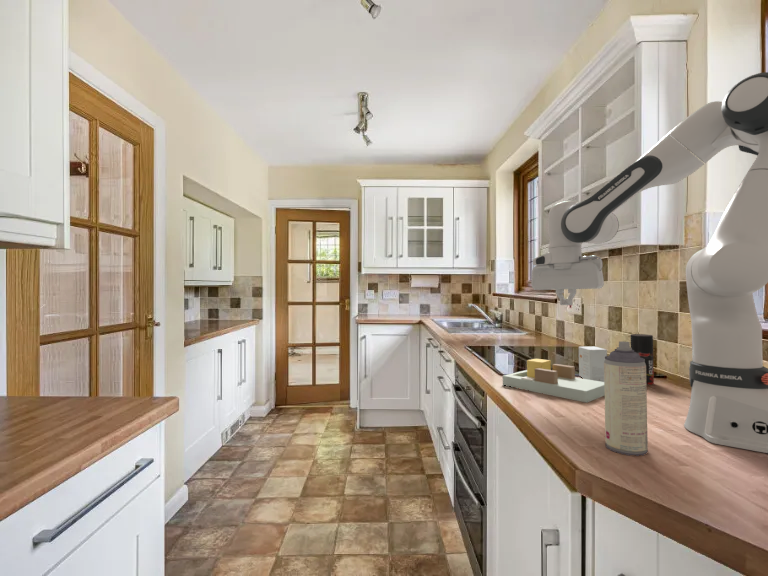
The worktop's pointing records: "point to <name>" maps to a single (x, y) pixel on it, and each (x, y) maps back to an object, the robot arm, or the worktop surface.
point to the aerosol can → (625, 401)
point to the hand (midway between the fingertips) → (566, 305)
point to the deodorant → (644, 353)
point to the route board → (557, 383)
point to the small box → (592, 363)
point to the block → (537, 366)
